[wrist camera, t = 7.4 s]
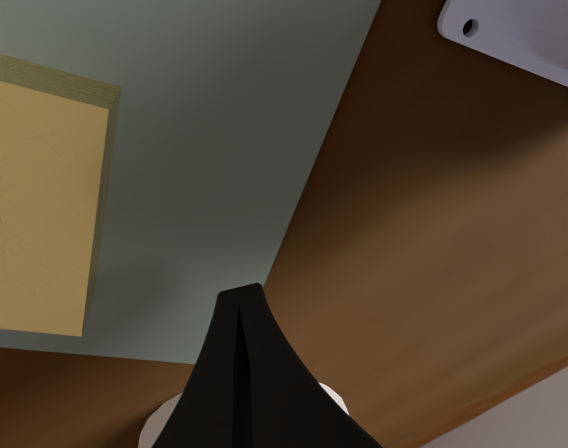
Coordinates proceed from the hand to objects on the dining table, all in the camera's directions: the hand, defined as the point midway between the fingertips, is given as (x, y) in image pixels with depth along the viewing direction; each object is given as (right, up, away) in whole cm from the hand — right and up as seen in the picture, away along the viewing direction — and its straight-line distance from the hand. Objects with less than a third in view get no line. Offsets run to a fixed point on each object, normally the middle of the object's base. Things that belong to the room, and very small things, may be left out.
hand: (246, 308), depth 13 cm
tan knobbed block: (-8, +4, +1) cm, 9 cm away
